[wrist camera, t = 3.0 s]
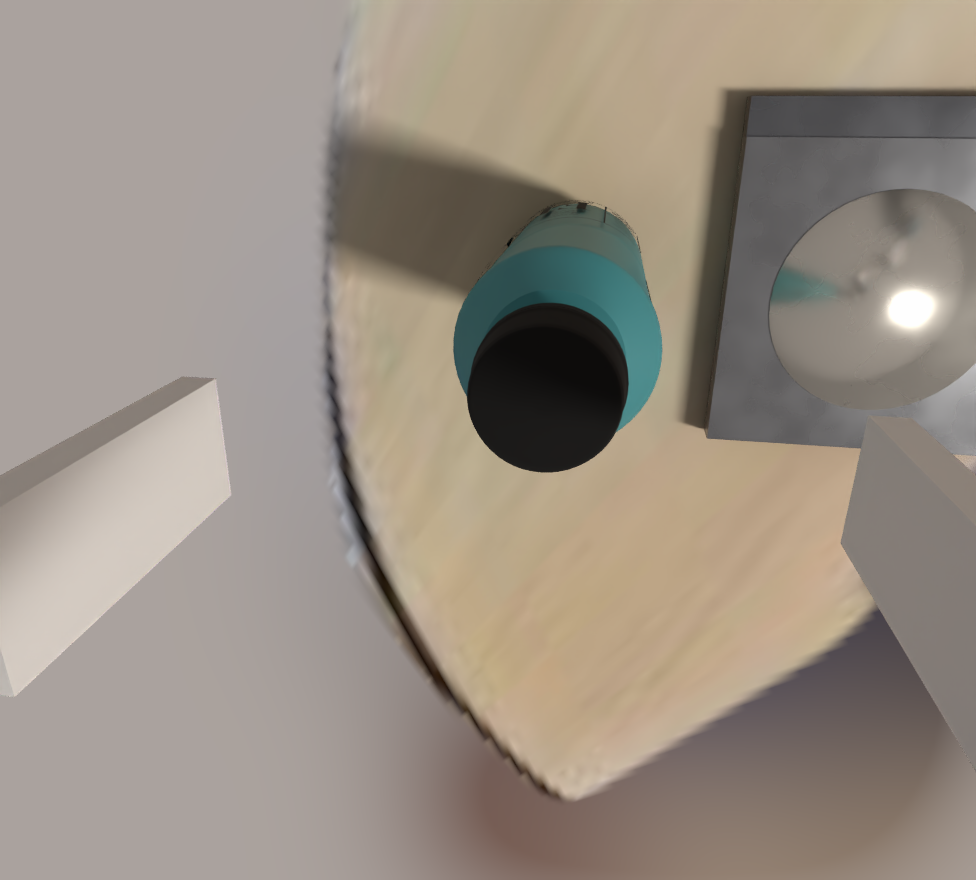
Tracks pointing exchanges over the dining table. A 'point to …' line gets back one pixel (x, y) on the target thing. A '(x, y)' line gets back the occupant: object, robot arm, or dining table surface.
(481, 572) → the dining table surface
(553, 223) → the beverage bottle
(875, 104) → the motor plate
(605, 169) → the dining table surface
